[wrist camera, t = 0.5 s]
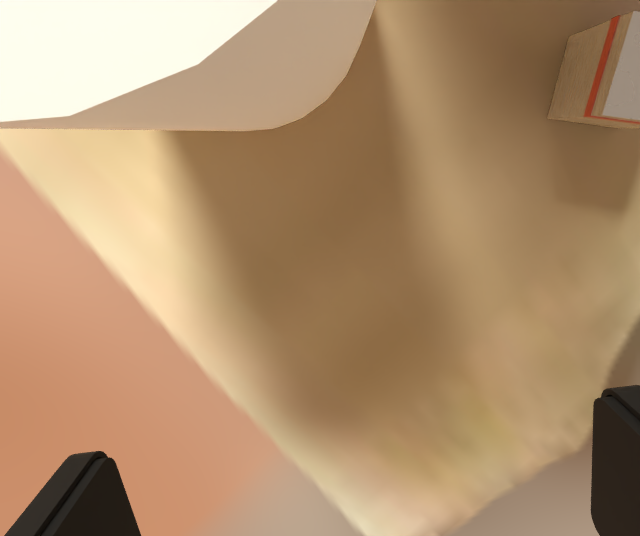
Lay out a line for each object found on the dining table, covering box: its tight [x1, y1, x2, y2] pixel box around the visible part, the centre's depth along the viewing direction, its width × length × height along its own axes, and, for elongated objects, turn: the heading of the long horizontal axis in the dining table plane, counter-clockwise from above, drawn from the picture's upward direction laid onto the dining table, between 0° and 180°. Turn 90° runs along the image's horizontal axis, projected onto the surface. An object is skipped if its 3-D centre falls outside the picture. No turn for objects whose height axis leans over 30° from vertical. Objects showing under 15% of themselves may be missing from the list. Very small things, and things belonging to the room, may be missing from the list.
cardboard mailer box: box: [547, 11, 640, 128], centre depth 29 cm, size 6×6×7 cm
